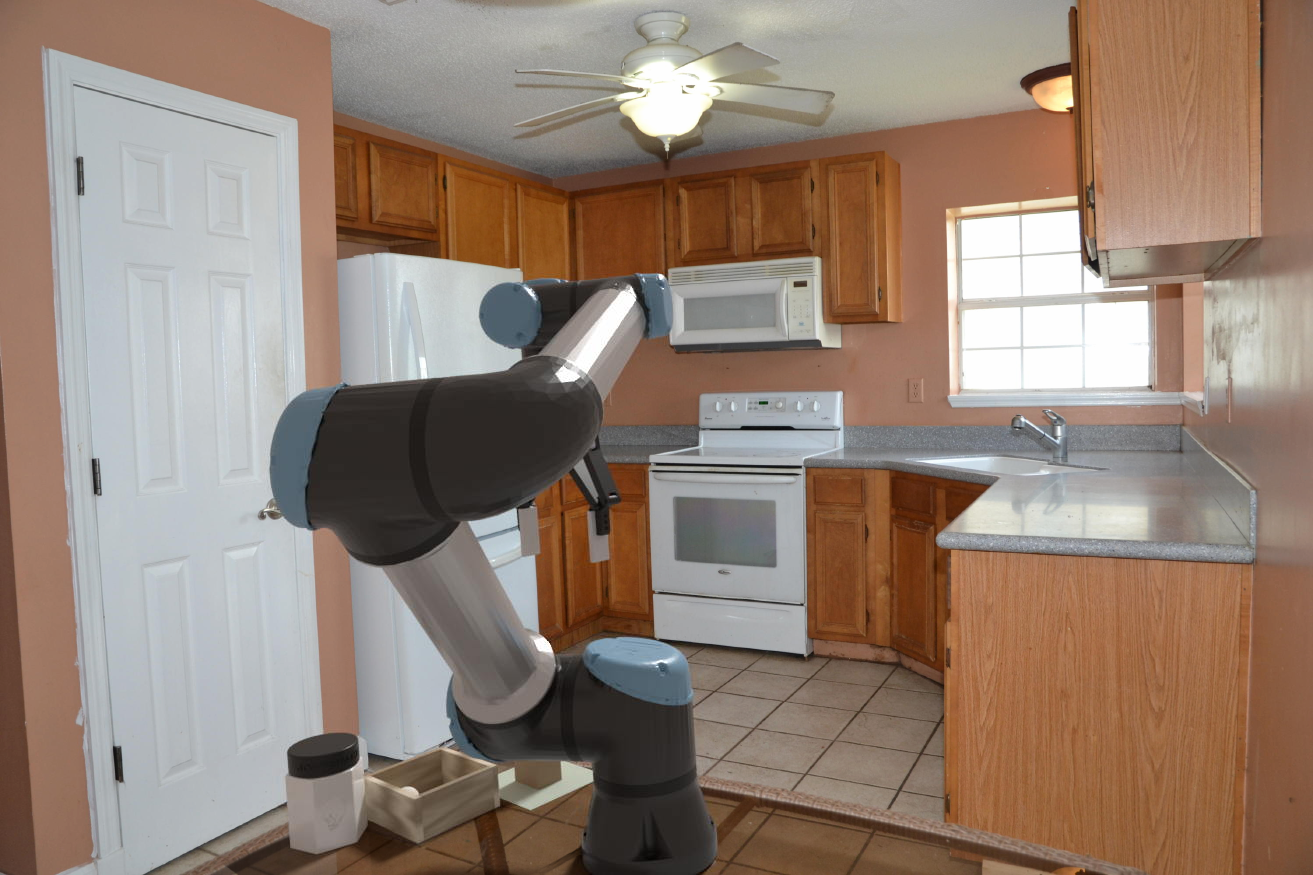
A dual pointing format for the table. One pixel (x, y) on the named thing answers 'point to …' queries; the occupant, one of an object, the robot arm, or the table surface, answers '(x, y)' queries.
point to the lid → (541, 782)
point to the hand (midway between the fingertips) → (564, 558)
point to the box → (431, 793)
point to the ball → (411, 790)
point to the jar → (325, 792)
